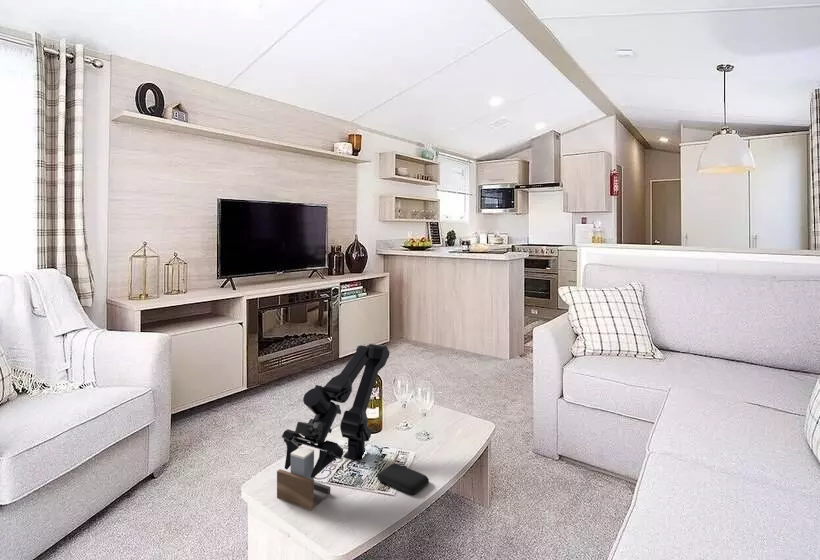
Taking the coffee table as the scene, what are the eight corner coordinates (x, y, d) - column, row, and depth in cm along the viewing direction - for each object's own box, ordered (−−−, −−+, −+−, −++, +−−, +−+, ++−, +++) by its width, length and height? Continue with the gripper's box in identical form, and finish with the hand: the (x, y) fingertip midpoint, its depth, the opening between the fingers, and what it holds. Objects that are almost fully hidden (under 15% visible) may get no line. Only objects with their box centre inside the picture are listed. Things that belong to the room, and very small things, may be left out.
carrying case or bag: (433, 483, 140) (395, 467, 148) (433, 473, 139) (395, 458, 148) (413, 499, 131) (374, 481, 139) (413, 489, 131) (374, 472, 139)
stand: (297, 482, 137) (297, 457, 136) (330, 493, 132) (330, 467, 131) (276, 497, 129) (276, 470, 128) (310, 510, 124) (311, 482, 123)
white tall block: (300, 488, 133) (300, 446, 131) (313, 493, 131) (314, 450, 129) (290, 497, 128) (290, 453, 127) (303, 501, 126) (303, 457, 125)
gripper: (285, 403, 134) (258, 454, 126) (338, 416, 126) (312, 472, 117) (302, 418, 142) (278, 468, 133) (353, 432, 134) (330, 486, 125)
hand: (298, 473), depth 127 cm, fingers open, 9 cm apart
